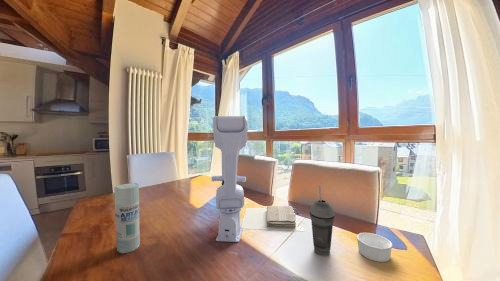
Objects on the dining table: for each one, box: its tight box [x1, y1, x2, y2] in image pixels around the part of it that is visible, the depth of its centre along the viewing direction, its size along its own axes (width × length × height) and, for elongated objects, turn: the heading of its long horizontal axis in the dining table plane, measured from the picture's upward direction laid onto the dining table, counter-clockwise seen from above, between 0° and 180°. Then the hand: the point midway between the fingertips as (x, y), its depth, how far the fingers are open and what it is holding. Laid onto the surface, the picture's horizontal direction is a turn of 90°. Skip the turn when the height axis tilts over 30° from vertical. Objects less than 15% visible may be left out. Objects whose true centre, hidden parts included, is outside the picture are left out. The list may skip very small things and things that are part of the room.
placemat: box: [240, 207, 305, 232], centre depth 83 cm, size 21×24×1 cm
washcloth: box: [266, 205, 296, 228], centre depth 82 cm, size 12×18×3 cm, turn 176°
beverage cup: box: [309, 184, 336, 257], centre depth 58 cm, size 7×7×20 cm
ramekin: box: [356, 232, 393, 263], centre depth 57 cm, size 9×9×4 cm
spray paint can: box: [113, 182, 141, 254], centre depth 61 cm, size 6×6×20 cm
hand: (229, 198), depth 81 cm, fingers closed
